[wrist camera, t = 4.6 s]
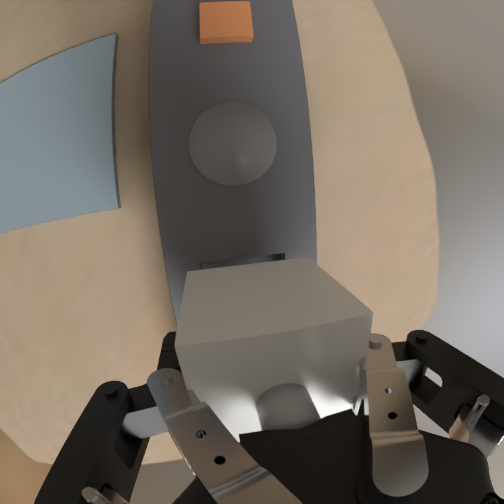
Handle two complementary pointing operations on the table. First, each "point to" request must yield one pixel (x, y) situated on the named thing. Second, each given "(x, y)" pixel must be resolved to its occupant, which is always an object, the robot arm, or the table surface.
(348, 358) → the block
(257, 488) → the robot arm
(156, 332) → the table surface
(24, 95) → the mat
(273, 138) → the power strip
